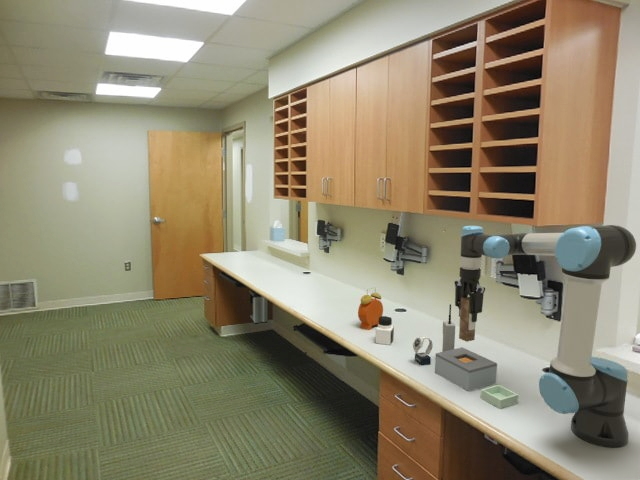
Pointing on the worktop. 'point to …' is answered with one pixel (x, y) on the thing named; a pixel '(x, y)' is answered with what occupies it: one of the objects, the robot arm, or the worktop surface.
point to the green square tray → (499, 396)
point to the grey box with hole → (466, 369)
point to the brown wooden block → (465, 321)
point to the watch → (422, 357)
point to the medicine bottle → (385, 331)
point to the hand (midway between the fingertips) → (467, 327)
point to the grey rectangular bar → (448, 334)
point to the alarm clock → (370, 310)
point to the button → (465, 359)
